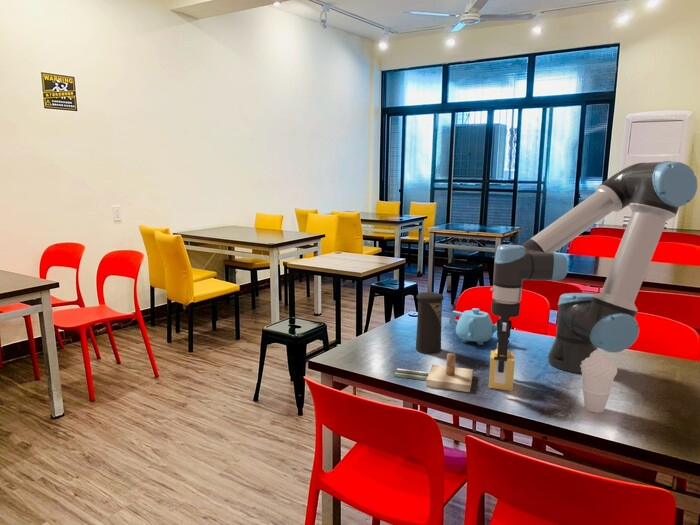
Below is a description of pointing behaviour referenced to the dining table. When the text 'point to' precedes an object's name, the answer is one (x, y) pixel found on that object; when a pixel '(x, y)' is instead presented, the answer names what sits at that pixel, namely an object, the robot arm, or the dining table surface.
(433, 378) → the block
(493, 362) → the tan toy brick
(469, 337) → the teapot
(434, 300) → the container
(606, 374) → the soft serve ice cream cone
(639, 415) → the dining table surface
